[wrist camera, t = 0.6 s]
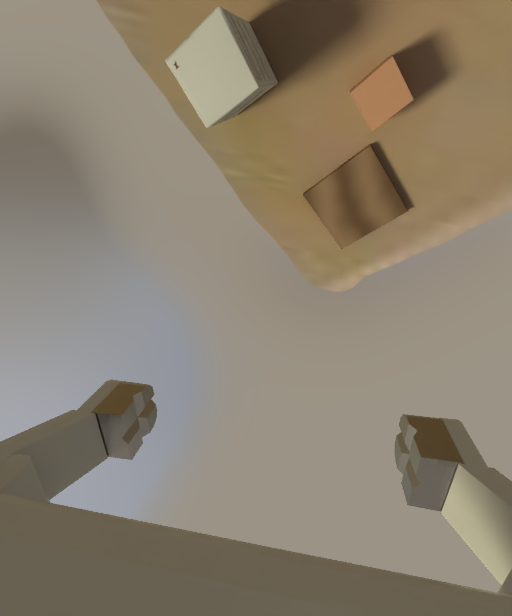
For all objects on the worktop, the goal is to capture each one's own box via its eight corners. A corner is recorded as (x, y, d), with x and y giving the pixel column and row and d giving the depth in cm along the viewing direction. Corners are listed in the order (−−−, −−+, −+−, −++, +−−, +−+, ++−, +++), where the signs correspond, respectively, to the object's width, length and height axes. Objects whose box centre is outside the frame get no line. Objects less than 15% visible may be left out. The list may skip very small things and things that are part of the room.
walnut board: (369, 144, 42) (370, 145, 41) (406, 208, 46) (407, 210, 45) (303, 193, 48) (303, 195, 47) (341, 246, 52) (341, 249, 51)
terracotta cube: (387, 57, 36) (392, 56, 33) (406, 96, 38) (413, 99, 34) (349, 90, 39) (350, 92, 35) (369, 125, 41) (371, 131, 37)
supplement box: (235, 117, 44) (204, 131, 34) (205, 61, 41) (161, 58, 31) (280, 84, 40) (260, 89, 31) (250, 19, 37) (217, 1, 27)
